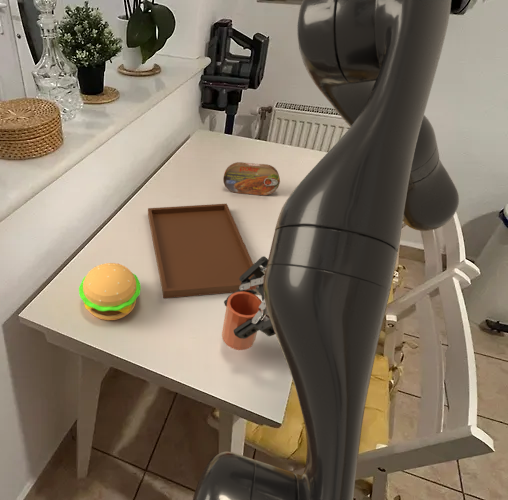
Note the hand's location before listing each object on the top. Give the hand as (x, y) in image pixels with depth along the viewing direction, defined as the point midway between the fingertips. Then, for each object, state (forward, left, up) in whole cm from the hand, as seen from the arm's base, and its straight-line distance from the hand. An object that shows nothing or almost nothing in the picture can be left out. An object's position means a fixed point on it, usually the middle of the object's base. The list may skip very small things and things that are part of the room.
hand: (232, 320), depth 73 cm
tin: (+52, -20, -9) cm, 56 cm away
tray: (+29, -1, -9) cm, 30 cm away
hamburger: (+14, +20, -9) cm, 26 cm away
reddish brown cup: (0, -2, -5) cm, 5 cm away
